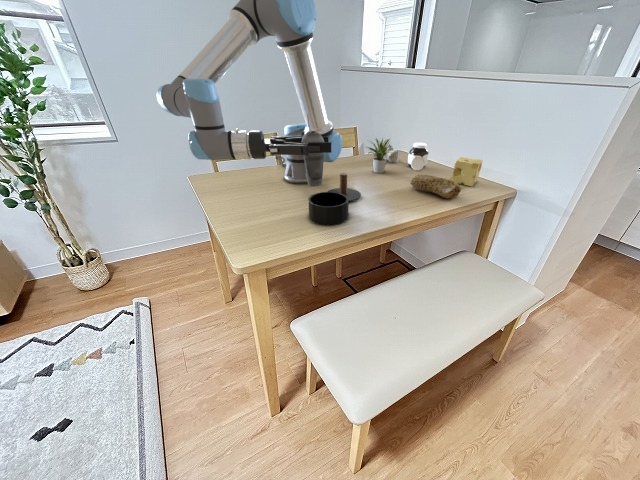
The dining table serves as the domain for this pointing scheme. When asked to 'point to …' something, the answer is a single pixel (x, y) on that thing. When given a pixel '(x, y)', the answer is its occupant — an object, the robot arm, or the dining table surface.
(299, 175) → the robot arm
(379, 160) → the house plant
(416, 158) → the spread jar
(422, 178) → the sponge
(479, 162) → the cheese
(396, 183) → the dining table surface
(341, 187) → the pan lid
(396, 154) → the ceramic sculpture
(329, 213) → the black round bowl
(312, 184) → the beverage cup
